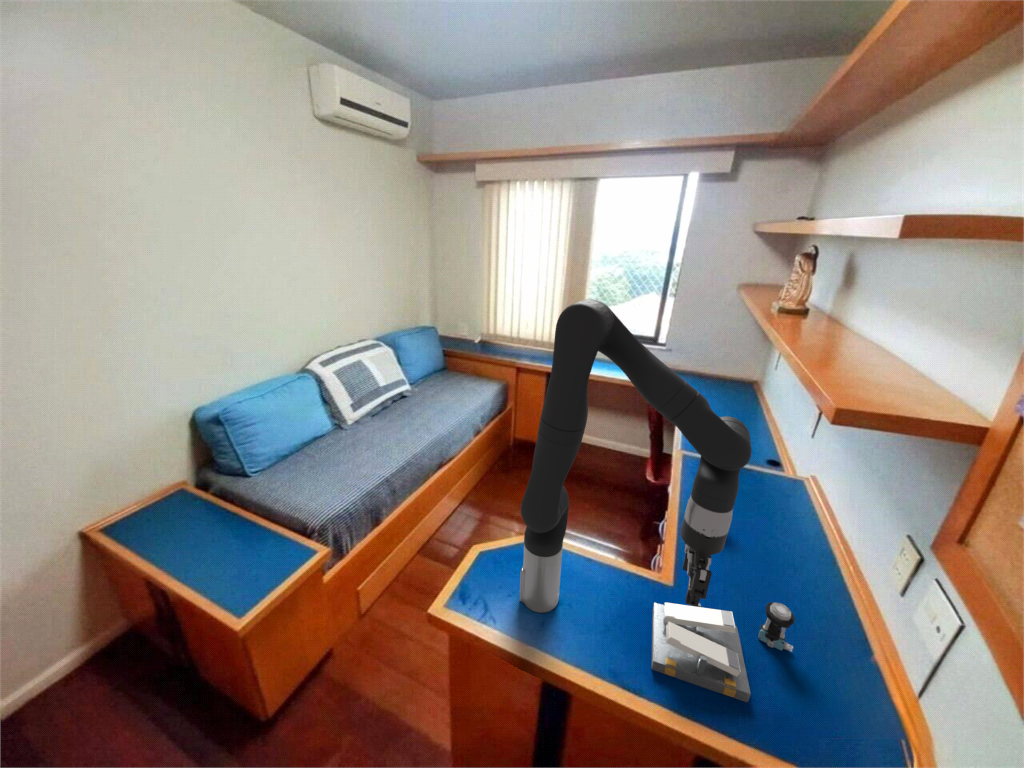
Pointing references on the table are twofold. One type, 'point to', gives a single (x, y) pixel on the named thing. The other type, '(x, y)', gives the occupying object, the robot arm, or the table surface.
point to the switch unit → (698, 659)
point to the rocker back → (700, 617)
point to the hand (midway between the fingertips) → (689, 586)
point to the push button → (776, 626)
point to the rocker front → (702, 648)
